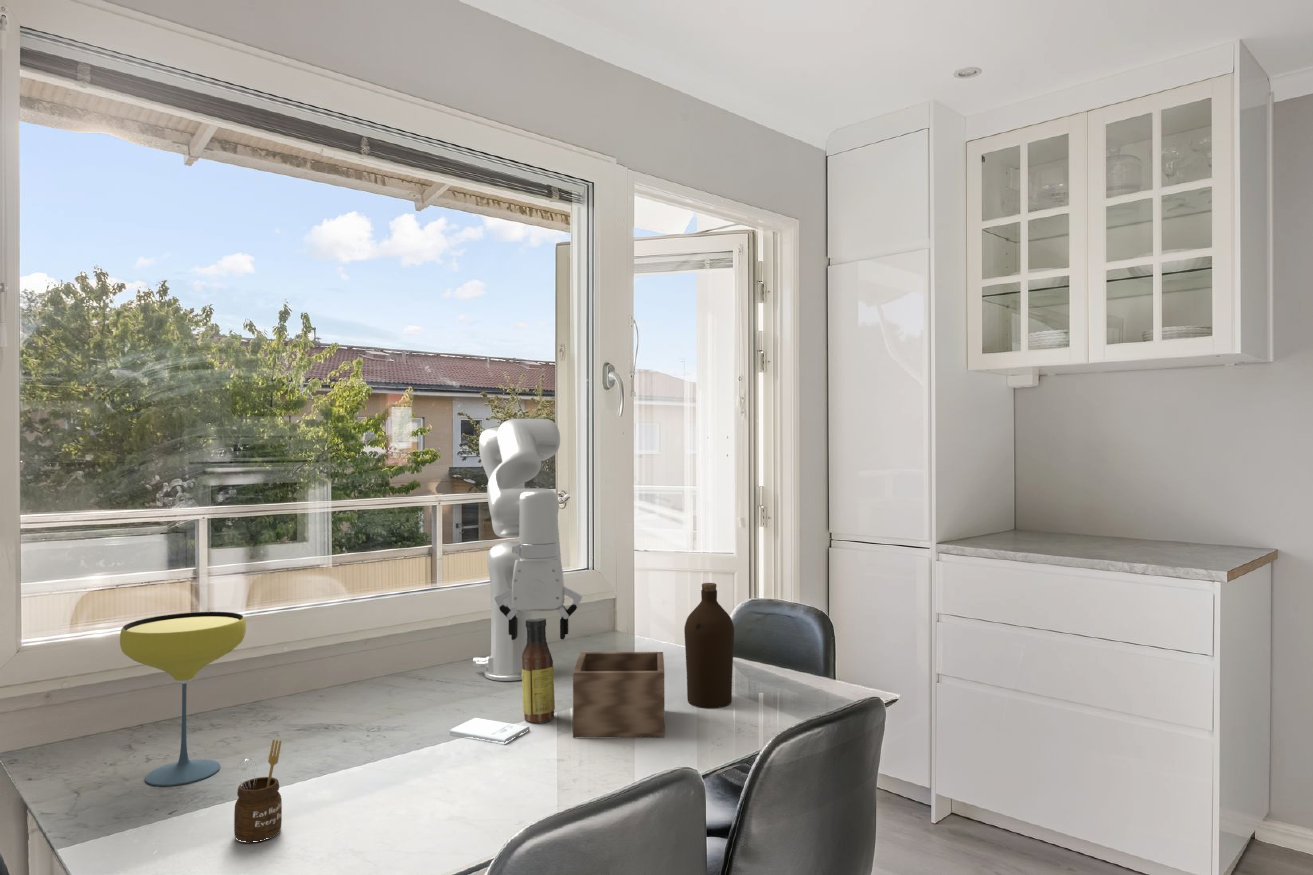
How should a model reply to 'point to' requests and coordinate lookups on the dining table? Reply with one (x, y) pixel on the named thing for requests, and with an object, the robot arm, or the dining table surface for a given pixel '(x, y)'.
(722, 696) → the olive oil
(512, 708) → the dining table surface
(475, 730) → the external hard drive
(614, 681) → the walled box
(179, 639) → the cocktail glass
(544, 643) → the sauce bottle
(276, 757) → the utensil holder
